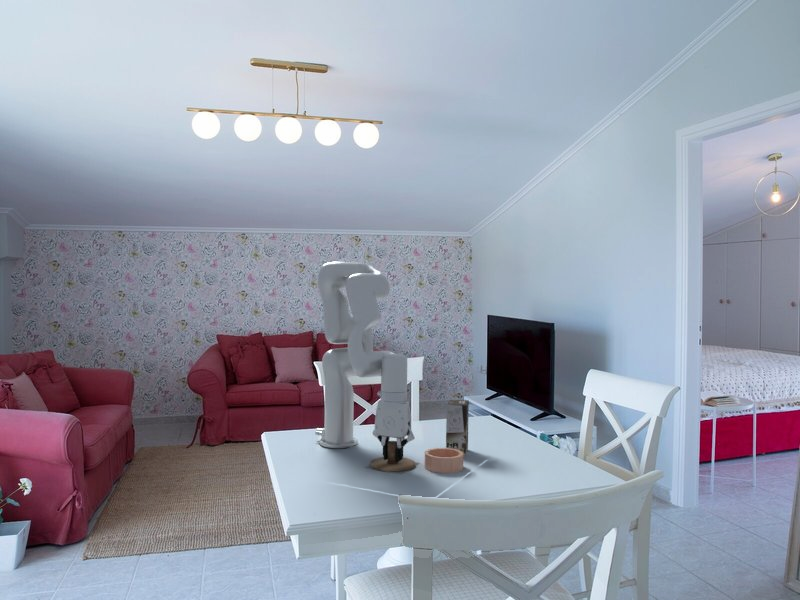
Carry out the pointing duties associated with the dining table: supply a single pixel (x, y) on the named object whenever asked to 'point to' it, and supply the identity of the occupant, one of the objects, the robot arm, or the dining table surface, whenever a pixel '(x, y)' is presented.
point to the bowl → (443, 460)
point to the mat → (393, 472)
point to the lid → (392, 461)
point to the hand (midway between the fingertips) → (392, 459)
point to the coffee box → (457, 425)
